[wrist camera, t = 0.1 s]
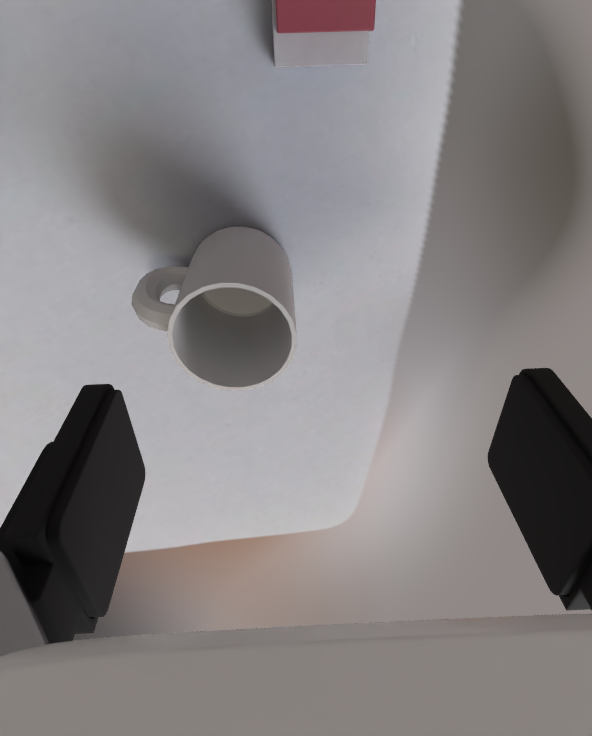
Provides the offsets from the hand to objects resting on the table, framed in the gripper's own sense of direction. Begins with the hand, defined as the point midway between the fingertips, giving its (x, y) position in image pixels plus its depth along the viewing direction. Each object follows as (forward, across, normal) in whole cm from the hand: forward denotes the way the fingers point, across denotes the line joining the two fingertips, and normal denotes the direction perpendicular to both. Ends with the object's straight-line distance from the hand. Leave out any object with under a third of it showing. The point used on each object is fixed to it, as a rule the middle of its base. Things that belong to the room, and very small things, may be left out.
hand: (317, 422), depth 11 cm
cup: (+23, +5, +6) cm, 24 cm away
